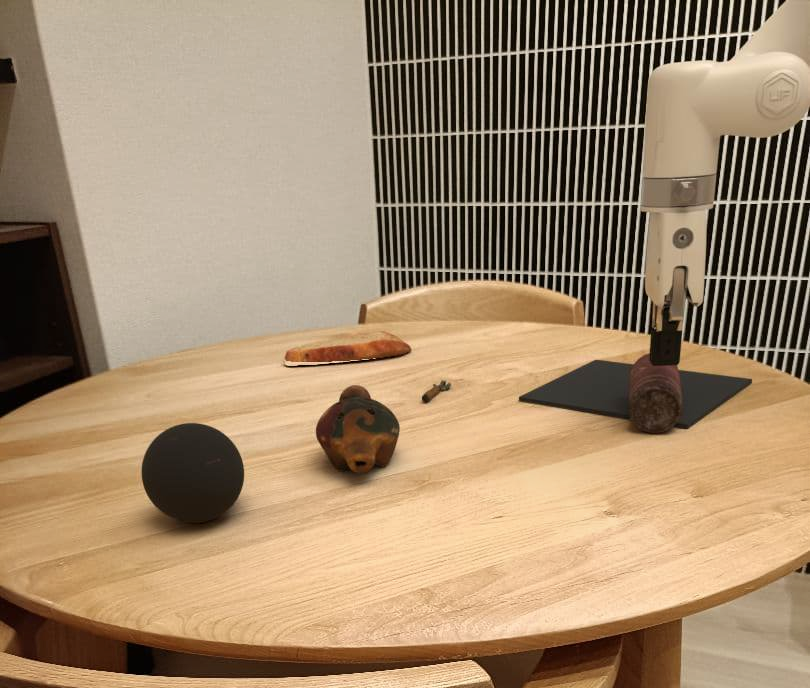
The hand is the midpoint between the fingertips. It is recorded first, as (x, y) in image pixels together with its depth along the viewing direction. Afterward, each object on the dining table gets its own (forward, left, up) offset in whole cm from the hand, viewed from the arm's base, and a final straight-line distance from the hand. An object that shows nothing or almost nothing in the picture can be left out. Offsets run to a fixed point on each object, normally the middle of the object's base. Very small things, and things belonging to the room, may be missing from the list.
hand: (664, 363), depth 96 cm
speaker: (+28, +47, -8) cm, 56 cm away
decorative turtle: (+24, +27, -8) cm, 37 cm away
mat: (+9, -13, -8) cm, 17 cm away
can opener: (+33, +1, -8) cm, 34 cm away
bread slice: (+60, -9, -8) cm, 61 cm away
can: (-1, +2, -5) cm, 6 cm away
